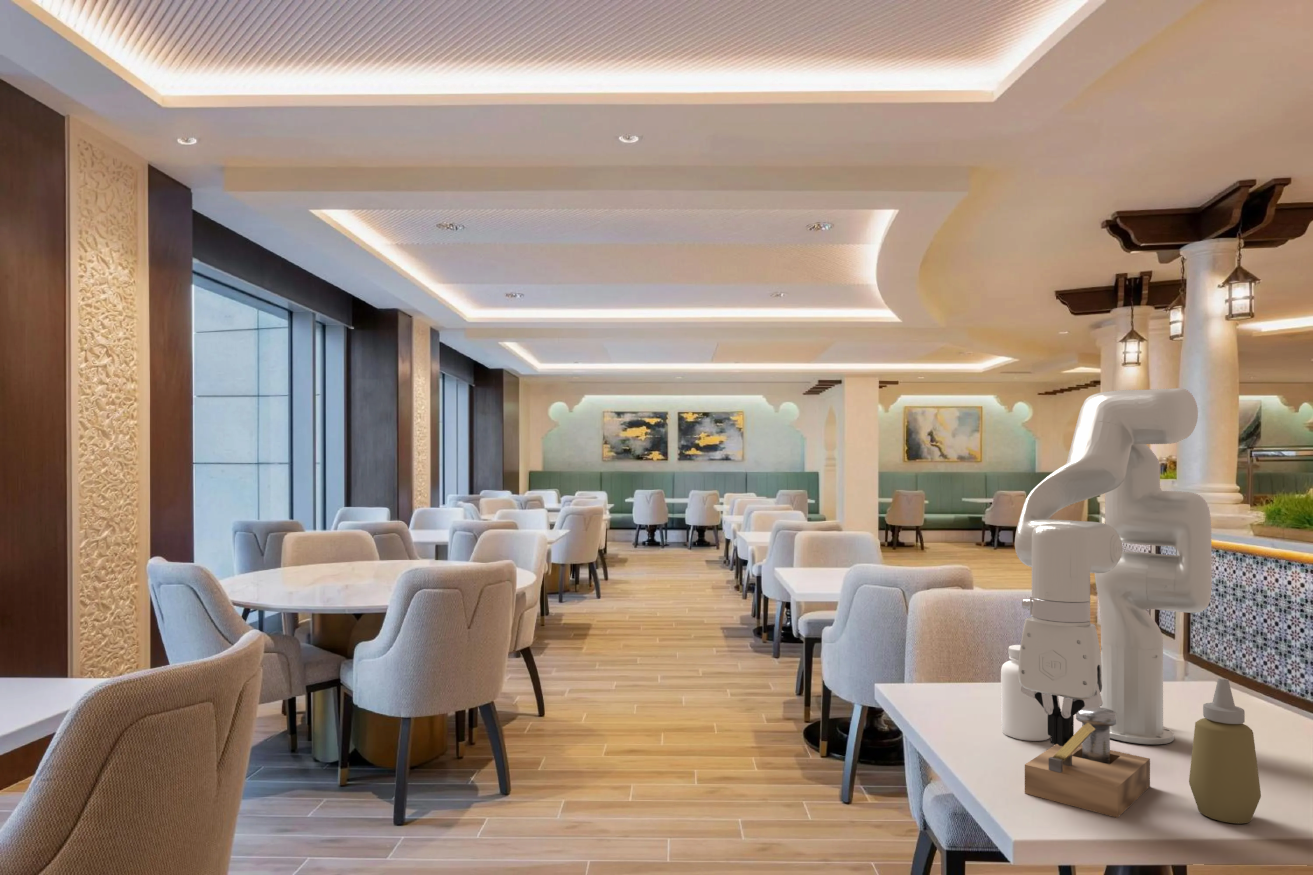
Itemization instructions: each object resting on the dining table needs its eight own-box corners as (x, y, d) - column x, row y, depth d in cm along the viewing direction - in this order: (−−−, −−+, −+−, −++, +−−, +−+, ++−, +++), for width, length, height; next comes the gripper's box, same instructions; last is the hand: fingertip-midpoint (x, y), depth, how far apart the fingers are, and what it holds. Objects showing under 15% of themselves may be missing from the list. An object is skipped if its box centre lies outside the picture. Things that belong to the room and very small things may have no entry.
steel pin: (1082, 774, 129) (1082, 703, 130) (1120, 783, 126) (1120, 710, 126) (1071, 783, 126) (1071, 710, 126) (1110, 792, 122) (1110, 717, 123)
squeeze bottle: (1174, 804, 118) (1174, 672, 119) (1230, 803, 119) (1229, 672, 119) (1218, 829, 110) (1217, 687, 111) (1277, 828, 111) (1275, 687, 111)
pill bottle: (990, 730, 151) (990, 644, 151) (1025, 725, 154) (1025, 641, 154) (1026, 744, 143) (1026, 653, 144) (1061, 739, 147) (1061, 650, 147)
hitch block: (1063, 765, 133) (1063, 729, 133) (1150, 786, 125) (1149, 747, 125) (1024, 792, 121) (1024, 752, 122) (1117, 817, 113) (1117, 774, 113)
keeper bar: (1063, 762, 122) (1056, 755, 122) (1095, 728, 119) (1088, 722, 120) (1057, 766, 120) (1050, 759, 120) (1090, 732, 117) (1082, 725, 118)
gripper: (997, 607, 124) (996, 736, 123) (1108, 622, 113) (1108, 762, 113) (1018, 602, 129) (1018, 725, 129) (1126, 615, 119) (1127, 750, 118)
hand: (1060, 742), depth 121 cm, fingers closed
